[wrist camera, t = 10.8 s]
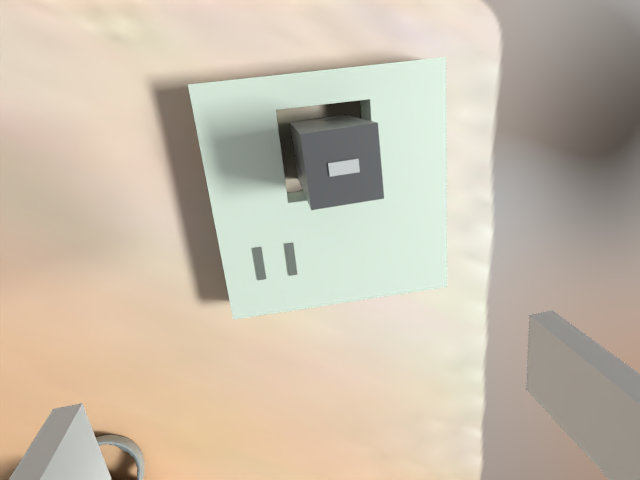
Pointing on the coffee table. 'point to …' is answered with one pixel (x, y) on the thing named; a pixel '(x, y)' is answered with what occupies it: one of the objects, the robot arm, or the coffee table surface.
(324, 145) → the charger block
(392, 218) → the outlet plate
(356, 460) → the coffee table surface
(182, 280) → the coffee table surface
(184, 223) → the coffee table surface
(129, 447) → the ceramic mug
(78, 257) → the coffee table surface
